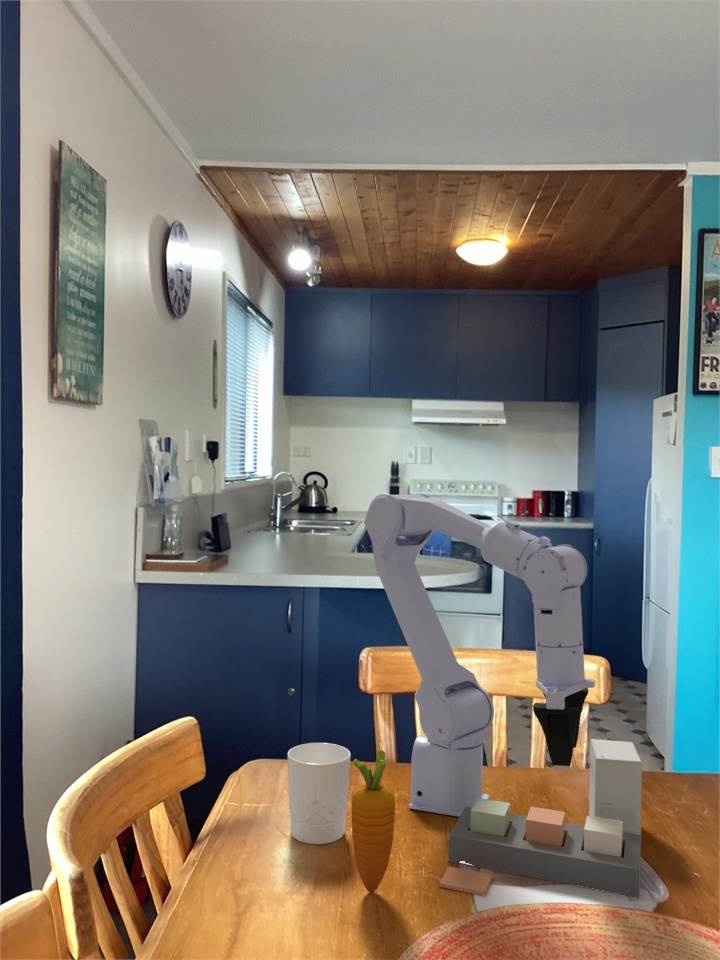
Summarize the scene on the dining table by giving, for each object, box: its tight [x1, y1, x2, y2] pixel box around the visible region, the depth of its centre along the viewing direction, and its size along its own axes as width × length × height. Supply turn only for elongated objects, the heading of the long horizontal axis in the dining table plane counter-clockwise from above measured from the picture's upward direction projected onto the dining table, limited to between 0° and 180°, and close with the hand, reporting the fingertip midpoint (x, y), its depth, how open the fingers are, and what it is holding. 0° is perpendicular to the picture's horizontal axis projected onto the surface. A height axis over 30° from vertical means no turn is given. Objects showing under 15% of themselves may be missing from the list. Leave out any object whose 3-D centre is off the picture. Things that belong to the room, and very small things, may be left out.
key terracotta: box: [526, 806, 566, 847], centre depth 93 cm, size 4×4×4 cm
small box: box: [588, 738, 643, 836], centre depth 102 cm, size 8×6×10 cm
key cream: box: [584, 815, 623, 857], centre depth 91 cm, size 4×4×4 cm
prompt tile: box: [439, 866, 493, 896], centre depth 88 cm, size 5×4×1 cm
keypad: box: [447, 806, 642, 898], centre depth 93 cm, size 21×9×3 cm, turn 70°
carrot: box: [351, 748, 396, 894], centre depth 85 cm, size 5×5×15 cm
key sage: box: [470, 798, 511, 837], centre depth 96 cm, size 4×4×4 cm
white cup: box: [287, 742, 351, 845], centre depth 100 cm, size 8×8×10 cm
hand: (564, 755), depth 98 cm, fingers open, 7 cm apart
